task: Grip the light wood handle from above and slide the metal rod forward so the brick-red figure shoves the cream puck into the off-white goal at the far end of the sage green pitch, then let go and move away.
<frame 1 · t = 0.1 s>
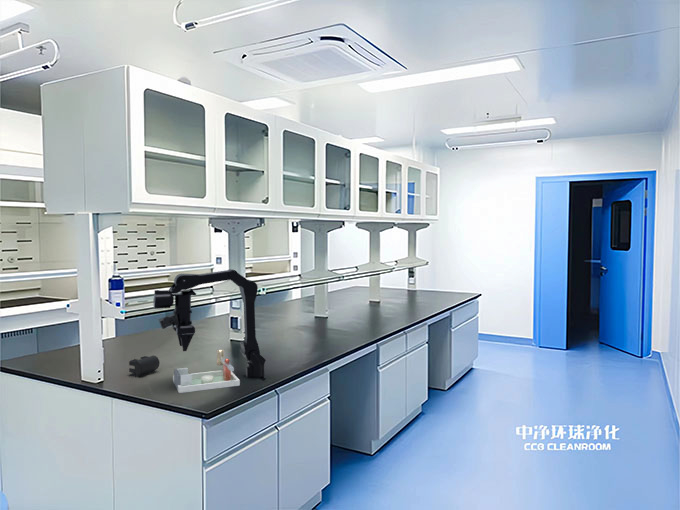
hand: (182, 348, 184), 15 cm above the worktop, tool pointing down, fingers open, 9 cm apart
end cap: (144, 374, 201), on the worktop
pitch: (205, 385, 186), on the worktop
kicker: (225, 366, 191), point 6 cm above the worktop, slide at 0.0 cm
puck: (207, 382, 186), point 1 cm above the worktop, touching pitch
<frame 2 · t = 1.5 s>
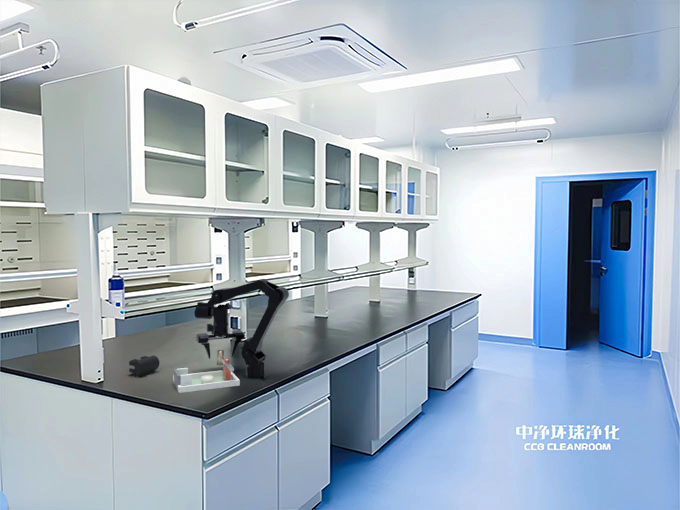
hand: (220, 357, 200), 7 cm above the worktop, tool pointing down, fingers open, 9 cm apart
nothing on the worktop moved.
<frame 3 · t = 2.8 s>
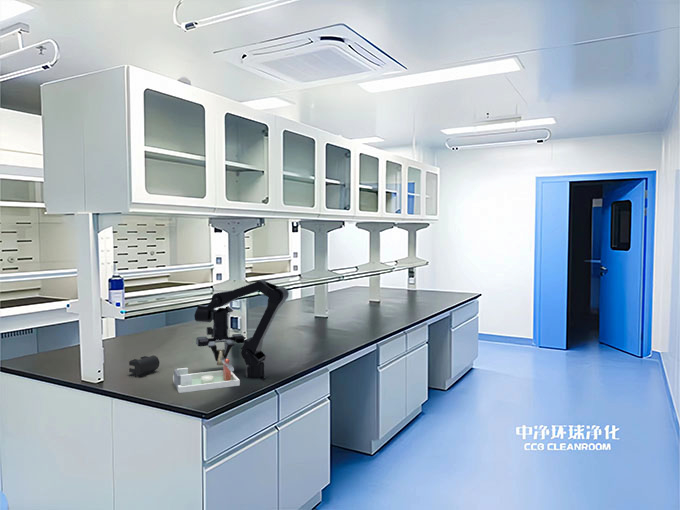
hand: (220, 360, 200), 6 cm above the worktop, tool pointing down, fingers closed on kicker, 3 cm apart
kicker: (225, 366, 191), point 6 cm above the worktop, slide at 0.0 cm, touching gripper
everything else where it was.
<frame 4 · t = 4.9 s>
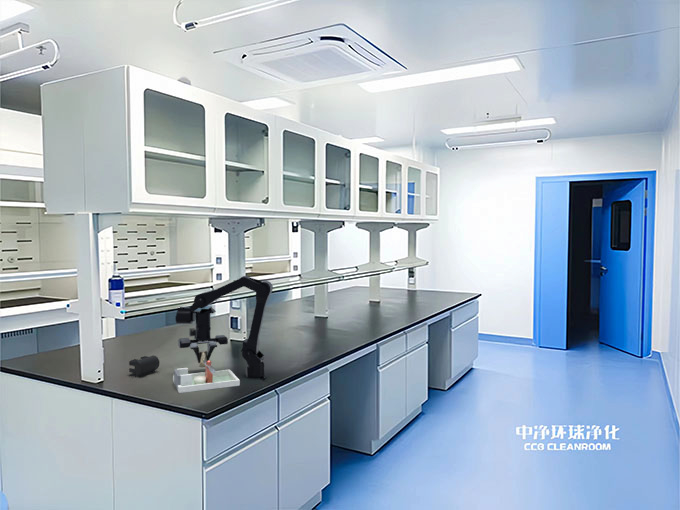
hand: (203, 362, 197), 6 cm above the worktop, tool pointing down, fingers closed on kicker, 3 cm apart
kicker: (207, 368, 188), point 6 cm above the worktop, slide at 7.0 cm, touching gripper, puck
puck: (200, 383, 185), point 1 cm above the worktop, touching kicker
everything else where it was.
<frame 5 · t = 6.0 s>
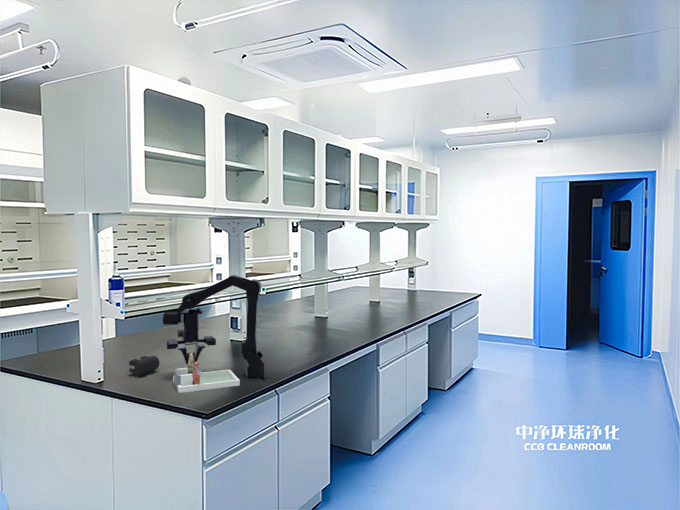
hand: (191, 363, 194), 6 cm above the worktop, tool pointing down, fingers closed on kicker, 3 cm apart
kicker: (195, 369, 186), point 6 cm above the worktop, slide at 11.7 cm, touching gripper, puck
puck: (187, 385, 183), point 1 cm above the worktop, touching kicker, pitch
everything else where it was.
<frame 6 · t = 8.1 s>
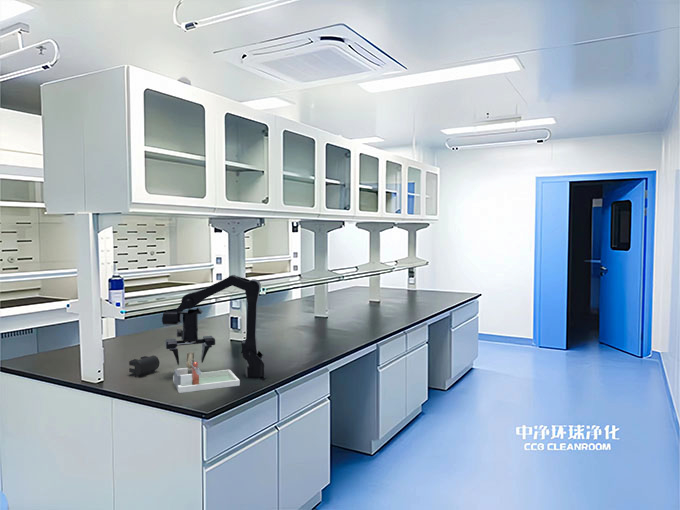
hand: (190, 363, 194), 6 cm above the worktop, tool pointing down, fingers open, 9 cm apart
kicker: (194, 369, 186), point 6 cm above the worktop, slide at 12.0 cm, touching puck
everything else where it was.
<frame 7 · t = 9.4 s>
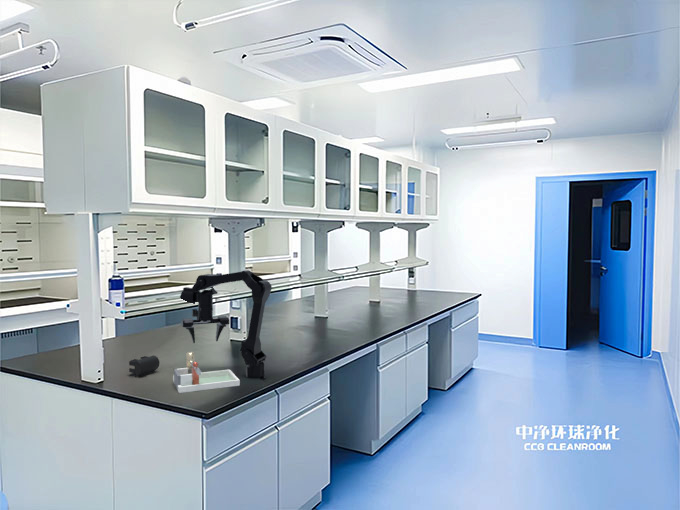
hand: (205, 342, 202), 13 cm above the worktop, tool pointing down, fingers open, 9 cm apart
nothing on the worktop moved.
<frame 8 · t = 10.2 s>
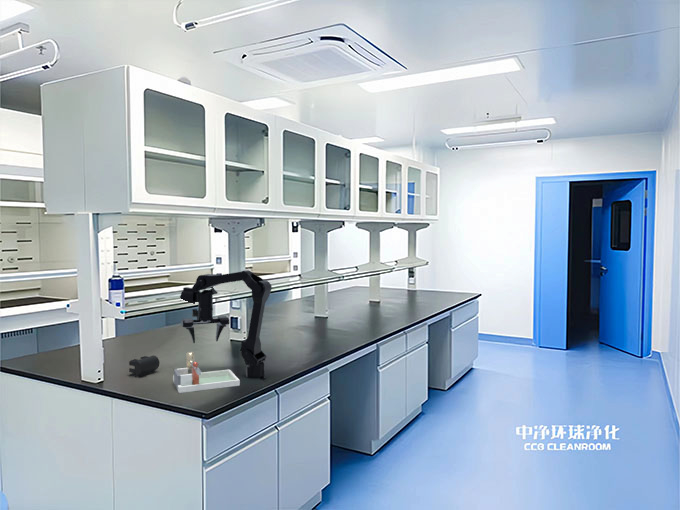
hand: (205, 342, 202), 13 cm above the worktop, tool pointing down, fingers open, 9 cm apart
nothing on the worktop moved.
at the end: puck 0.6 cm from the target spot, point 1.0 cm above the worktop; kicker slide at 12.0 cm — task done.
